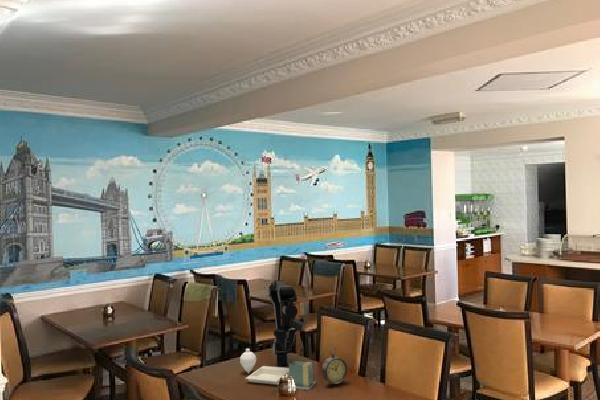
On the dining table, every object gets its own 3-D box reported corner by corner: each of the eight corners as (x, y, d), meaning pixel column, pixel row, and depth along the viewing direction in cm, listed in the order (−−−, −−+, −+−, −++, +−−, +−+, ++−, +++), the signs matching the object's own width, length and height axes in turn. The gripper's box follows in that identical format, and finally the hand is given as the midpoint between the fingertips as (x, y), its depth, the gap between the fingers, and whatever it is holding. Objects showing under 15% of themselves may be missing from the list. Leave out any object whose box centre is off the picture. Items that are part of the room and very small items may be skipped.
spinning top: (237, 375, 234) (236, 349, 234) (249, 370, 239) (248, 345, 239) (247, 378, 228) (246, 352, 229) (260, 374, 234) (259, 348, 234)
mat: (295, 380, 223) (295, 379, 223) (316, 382, 219) (316, 381, 219) (286, 388, 214) (286, 387, 214) (308, 390, 210) (308, 389, 210)
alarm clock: (326, 389, 211) (325, 350, 212) (320, 385, 216) (319, 347, 216) (348, 384, 216) (347, 346, 217) (341, 380, 221) (340, 344, 221)
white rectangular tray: (263, 372, 236) (263, 365, 237) (292, 374, 231) (292, 368, 231) (245, 385, 220) (245, 378, 220) (276, 388, 214) (276, 381, 214)
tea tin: (294, 381, 221) (293, 360, 221) (313, 383, 217) (312, 362, 218) (289, 385, 216) (288, 364, 216) (308, 387, 213) (308, 365, 213)
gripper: (295, 318, 220) (296, 354, 219) (310, 310, 237) (311, 343, 237) (272, 317, 224) (273, 352, 223) (288, 309, 241) (289, 341, 241)
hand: (288, 347), depth 231 cm, fingers open, 9 cm apart
